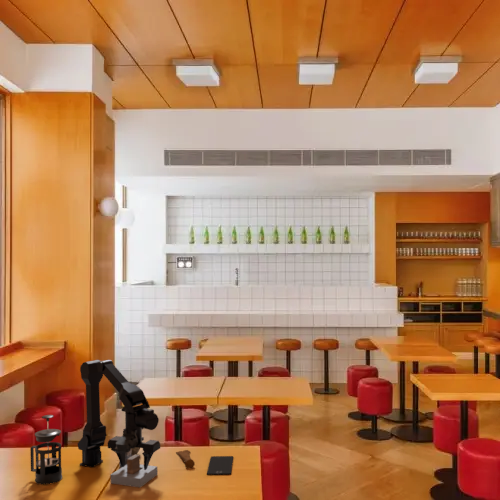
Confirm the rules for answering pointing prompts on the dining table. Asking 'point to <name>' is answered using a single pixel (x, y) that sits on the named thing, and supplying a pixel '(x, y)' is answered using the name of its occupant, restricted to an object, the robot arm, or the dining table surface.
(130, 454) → the round metal peg
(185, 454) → the primitive tool
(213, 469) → the cell phone
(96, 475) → the dining table surface
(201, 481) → the dining table surface
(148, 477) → the slotted block
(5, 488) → the dining table surface
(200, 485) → the dining table surface
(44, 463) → the french press
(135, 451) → the decorative egg
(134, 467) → the walnut bar
